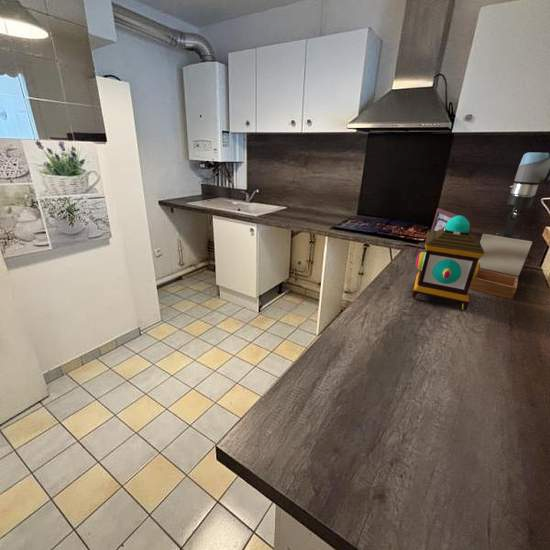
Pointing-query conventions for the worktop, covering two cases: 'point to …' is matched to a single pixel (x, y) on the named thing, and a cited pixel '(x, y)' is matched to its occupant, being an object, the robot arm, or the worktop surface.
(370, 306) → the worktop surface
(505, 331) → the worktop surface
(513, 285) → the open wooden box
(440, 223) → the picture frame
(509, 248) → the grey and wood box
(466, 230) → the decorative lantern
